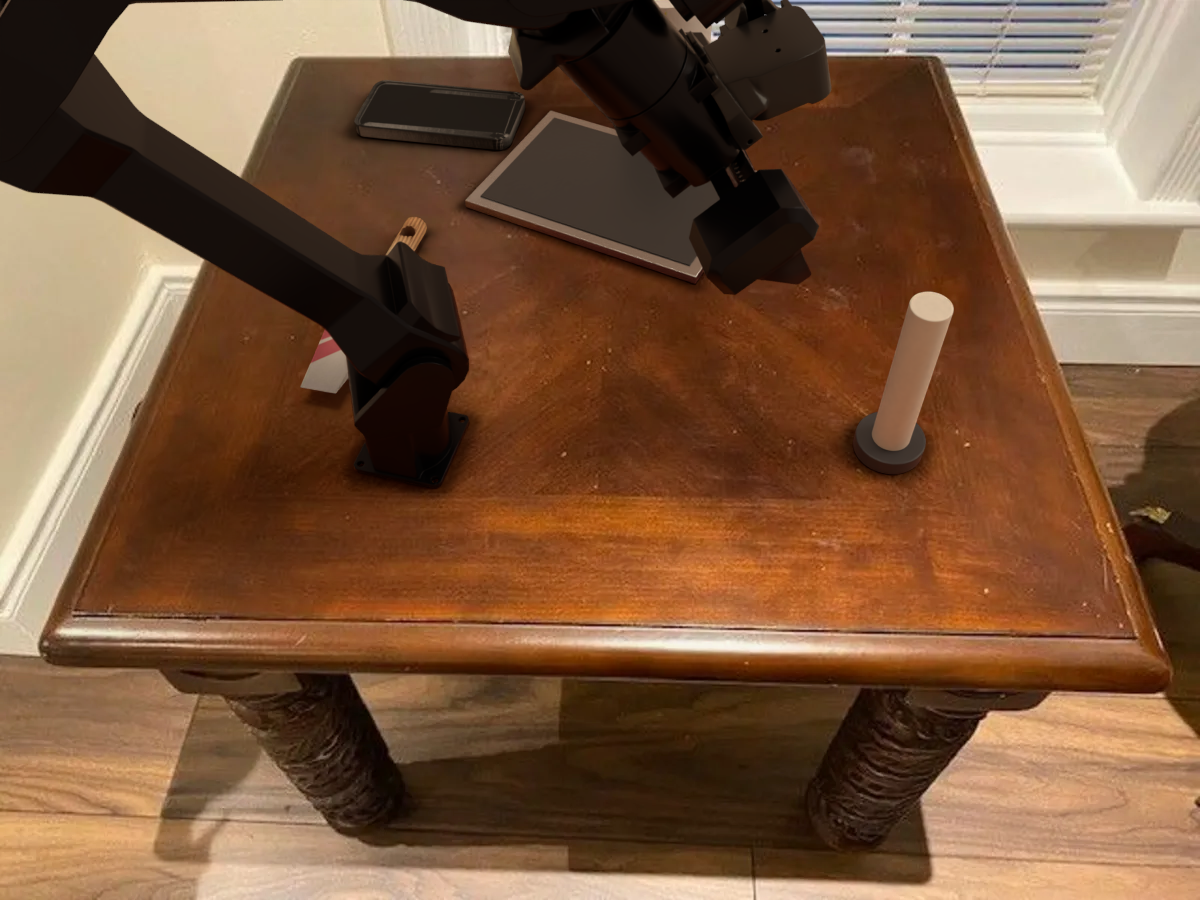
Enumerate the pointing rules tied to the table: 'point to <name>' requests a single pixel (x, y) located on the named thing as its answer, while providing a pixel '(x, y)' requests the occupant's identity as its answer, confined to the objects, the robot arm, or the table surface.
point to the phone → (441, 114)
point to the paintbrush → (329, 358)
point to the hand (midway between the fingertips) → (778, 231)
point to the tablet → (595, 196)
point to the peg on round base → (905, 389)
